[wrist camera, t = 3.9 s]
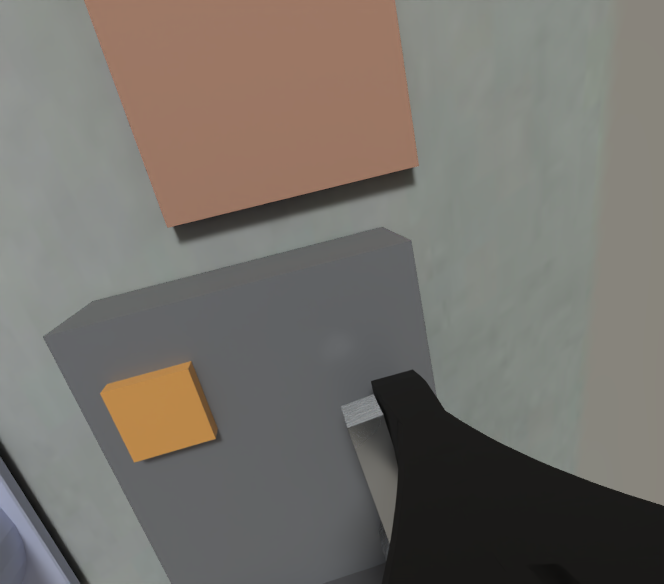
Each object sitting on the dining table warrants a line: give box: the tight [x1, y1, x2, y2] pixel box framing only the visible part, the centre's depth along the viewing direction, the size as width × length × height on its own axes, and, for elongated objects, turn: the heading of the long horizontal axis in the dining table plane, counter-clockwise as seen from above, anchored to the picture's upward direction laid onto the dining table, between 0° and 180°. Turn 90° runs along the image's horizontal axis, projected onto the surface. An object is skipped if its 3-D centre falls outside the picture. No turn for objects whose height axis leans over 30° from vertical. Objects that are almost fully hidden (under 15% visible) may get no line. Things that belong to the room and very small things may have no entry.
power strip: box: [43, 227, 437, 584], centre depth 13 cm, size 9×20×3 cm, turn 13°
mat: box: [84, 0, 419, 228], centre depth 10 cm, size 7×7×1 cm
